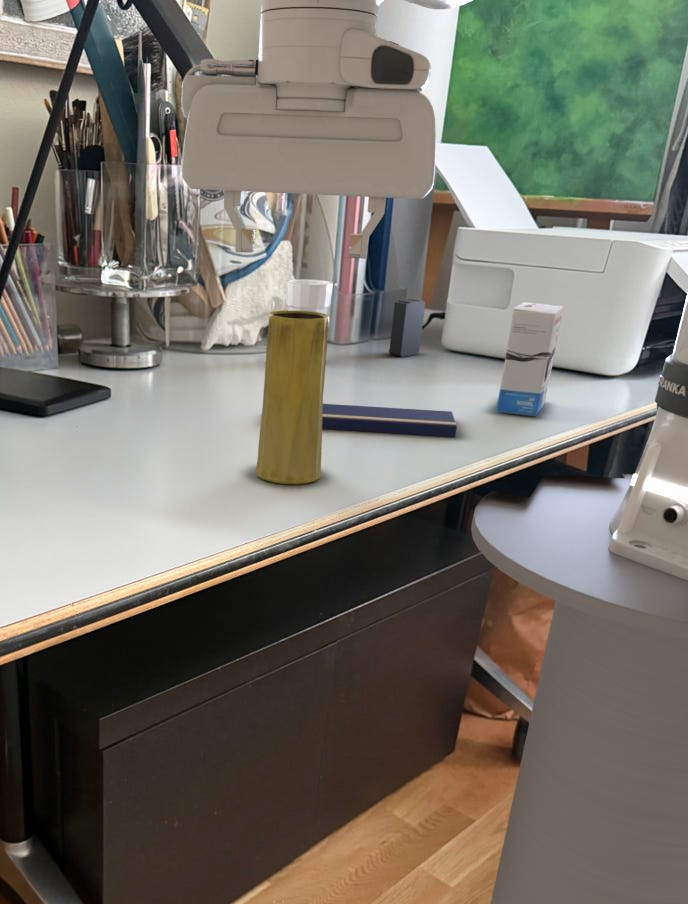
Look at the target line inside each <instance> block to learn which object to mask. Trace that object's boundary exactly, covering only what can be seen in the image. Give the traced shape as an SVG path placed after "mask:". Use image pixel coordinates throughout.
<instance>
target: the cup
mask: <svg viewBox="0 0 688 904" xmlns="http://www.w3.org/2000/svg"><path fill="white" fill-rule="evenodd" d="M333 287H334V282H333V281H329V280H324V279H323V280H322V279H311V278H310V279H307V278H305V279H300V278H299V279H288V280H286V281H285V305H286V306H287V309H288V310H297V311H311V312H318V313H323V314H326V315H328V308H329V307H330V306H331V305H332V304H331V303H332V295H333Z"/></svg>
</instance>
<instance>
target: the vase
mask: <svg viewBox="0 0 688 904" xmlns="http://www.w3.org/2000/svg"><path fill="white" fill-rule="evenodd" d="M267 327H268V328H267V340H266V349H265V350H266V353H265V365H264V366H265V368H264V384H263V397H262V407H261V408H262V409H261V419H260V428H259V436H258V437H259V438H258V447H257V461H256V466H255V470H254V471H255V474H256V476H257V477H259V478H260V479H261V480H263V481H267V482H270V483H275V484H281V485H304V484H309V483H314V482H316V481H318V480H319V479H320V478H321V477H322V448H323V447H322V446H323V445H322V444H323V429H322V408H323V404H324V391H325V390H324V389H325V376H326V367H327V366H326V365H327V353H328V352H327V350H328V342H329V341H328V340H329V330H330V329H329V328H330V316H329V315H328V314H327V315H326V314H323V313H318V312H311V311H297V310H275V311H271V312H269V313H268V326H267Z"/></svg>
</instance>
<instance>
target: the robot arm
mask: <svg viewBox="0 0 688 904" xmlns="http://www.w3.org/2000/svg"><path fill="white" fill-rule="evenodd" d="M384 1H385V0H262V2H261V6H260V14H259V15H260V18H259V33H258V34H259V35H258V39H259V41H258V54H257V57H258V58H257V59H232V60H231V59H230V60H219V58H205V59H202V60H201V61H200V64H197V65H194V66H192V67H191V68H190V69H189V70H188V71H187V72H186V73H185V75H184V77H183V80H182V84H181V112H182V114H183V117H184V118H185V120H186V126H185V130H184V131H185V133H184V139H183V147H182V157H181V158H182V159H181V177H182V179H183V181H184V182H185V184H186V186H188V188H189V189H190V190H206V191H224V192H223V207H224V210H225V212H226V214H227V216H228V218H229V220H230V223H231V224H232V227H233V229H234V230H235V243H234V244H235V245H234V247H235V248H234V249H235V253H251V254H252V253H254V252H255V249H256V248H255V247H256V242H255V241H254V240H255V239H256V228H247V226H246V224H245V222H244V219H243V217H242V215H241V213H240V210H239V208H238V207H241V206H243V205H245V204H244V203H245V201H244V200H245V192H252V193H272V194H273V193H274V194H293V195H295V194H298V195H315V196H317V195H318V196H319V195H320V196H340V197H341V196H343V197H362V198H366V197H367V198H368V200H367V201H368V202H367V213H369V214H372V215H371V217H370V218H369V220H368V222H367V223H366V224H365V226H364V227H363V229H362V231H361V232H360V233H350V237H349V245H350V247H349V249H348V258H349V259H363V260H365V259H367V253H368V244H369V243H368V242H369V237H370V236H371V235H372V233H373V232H374V231H375V230H376V227H377V226H378V224H379V223H380V221H381V220H382V218H383V217H384V216H385V213H386V203H387V199H388V198H389V199H407V200H408V199H409V200H422V199H424V198H425V197H426V196H427V195H428V194H429V193H430V192H431V191H432V190H433V186H434V181H435V173H436V156H437V155H436V153H437V129H436V127H437V126H436V116H435V110H434V108H433V105H432V102H431V101H430V99H429V98H428V97H427V96H426V95H425V94H423V93H422V92H423V91H424V90H425V89H426V88H427V87H428V85H429V83H430V79H431V72H432V68H431V67H432V66H431V63H430V60H429V59H428V58H427V57H426V56H425V55H423V54H421V53H419V52H416V51H414V50H411V49H409V48H407V47H405V46H402V45H400V44H399V43H397V42H394V41H391V40H386V39H384V38H382V37H379V36H378V35H377V25H378V16H379V9H380V6H381V4H382V3H383V2H384ZM403 1H404V2H407V3H409V4H415V5H417V6H420V7H422V8H426V9H430V10H448V9H454V8H458V7H463V6H466V5H468V4H471V3H473V2H475V1H476V0H403ZM197 72H200V74H196V73H197ZM686 294H687V295H686V298H685V303H684V306H683V311H682V315H681V319H680V322H679V327H678V331H677V336H676V340H675V343H674V348H673V350H672V351H673V352H672V354H670V355H669V356H668V357H666V358H665V361H664V365H663V368H662V371H661V375H659V378H658V382H657V385H658V386H657V390H656V393H655V398H654V402H655V403H656V413H655V416H654V420H653V423H652V427H651V430H650V433H649V435H648V437H647V438H648V439H647V441H646V443H645V447H644V450H643V451H642V454H641V457H640V460H639V462H638V465H637V467H636V470H635V472H634V473H633V478H632V482H631V484H630V486H629V488H628V490H627V492H626V495H625V497H624V499H623V501H622V502H621V504H620V506H619V508H618V510H617V511H616V513H615V515H614V516H613V518H612V519H611V521H610V523H609V528H610V531H611V533H612V535H613V536H612V538H611V541H610V543H609V546H608V549H609V551H611V552H612V553H614V554H617V555H619V556H622V557H625V558H627V559H630V560H633V561H635V562H638V563H641V564H643V565H646V566H649V567H652V568H654V569H657V570H660V571H662V572H665V573H668V574H670V575H673V576H676V577H679V578H681V579H684V580H687V581H688V293H686Z"/></svg>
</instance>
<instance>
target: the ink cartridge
mask: <svg viewBox="0 0 688 904" xmlns="http://www.w3.org/2000/svg"><path fill="white" fill-rule="evenodd" d="M425 310H426V301H424V300H422V299H416V298H408V299H399V300H398V301H395V302H394V306H393V315H392V323H391V325H392V326H391V334H390V342H389V349H388V353H389V355H390V356H395V357H399V358H406V357H409V356H410V357H411V356H415V355H418V354H419V353H420V349H421V341H422V340H421V339H422V333H423V325H424V317H425Z"/></svg>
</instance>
